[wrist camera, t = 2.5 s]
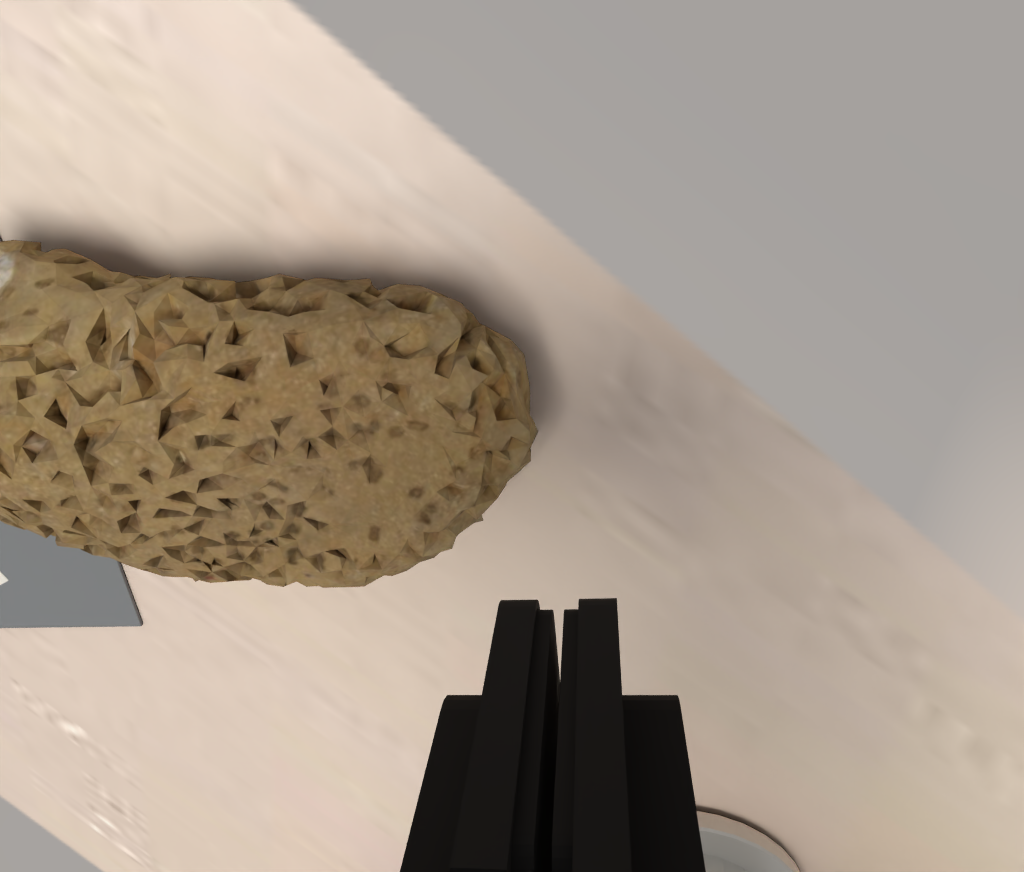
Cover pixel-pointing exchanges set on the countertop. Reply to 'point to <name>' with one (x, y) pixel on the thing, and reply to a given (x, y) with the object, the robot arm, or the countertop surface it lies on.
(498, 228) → the countertop surface
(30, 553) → the mat
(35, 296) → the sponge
